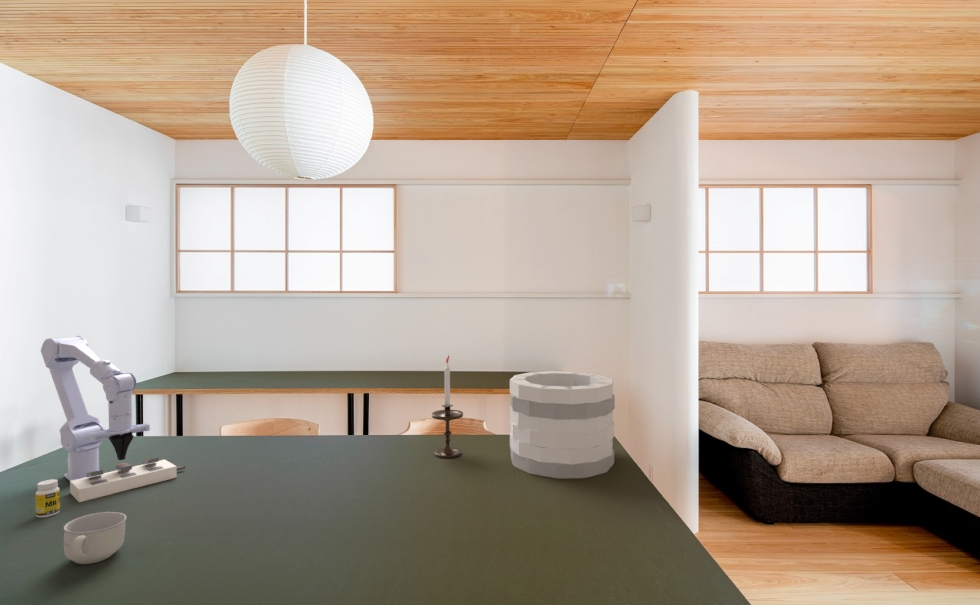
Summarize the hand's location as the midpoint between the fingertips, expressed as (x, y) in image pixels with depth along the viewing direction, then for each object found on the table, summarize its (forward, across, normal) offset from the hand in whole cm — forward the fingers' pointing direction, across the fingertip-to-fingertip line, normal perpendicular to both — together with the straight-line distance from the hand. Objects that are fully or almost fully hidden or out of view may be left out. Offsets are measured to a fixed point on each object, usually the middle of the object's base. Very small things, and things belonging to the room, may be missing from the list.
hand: (121, 459), depth 155 cm
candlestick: (+7, +81, -58) cm, 100 cm away
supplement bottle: (+7, -19, -12) cm, 23 cm away
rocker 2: (+2, 0, -2) cm, 3 cm away
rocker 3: (+2, +7, -2) cm, 8 cm away
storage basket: (+7, +101, -92) cm, 137 cm away
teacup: (+7, -18, -49) cm, 52 cm away
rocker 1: (+2, -7, -2) cm, 8 cm away
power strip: (+7, +2, -4) cm, 8 cm away
